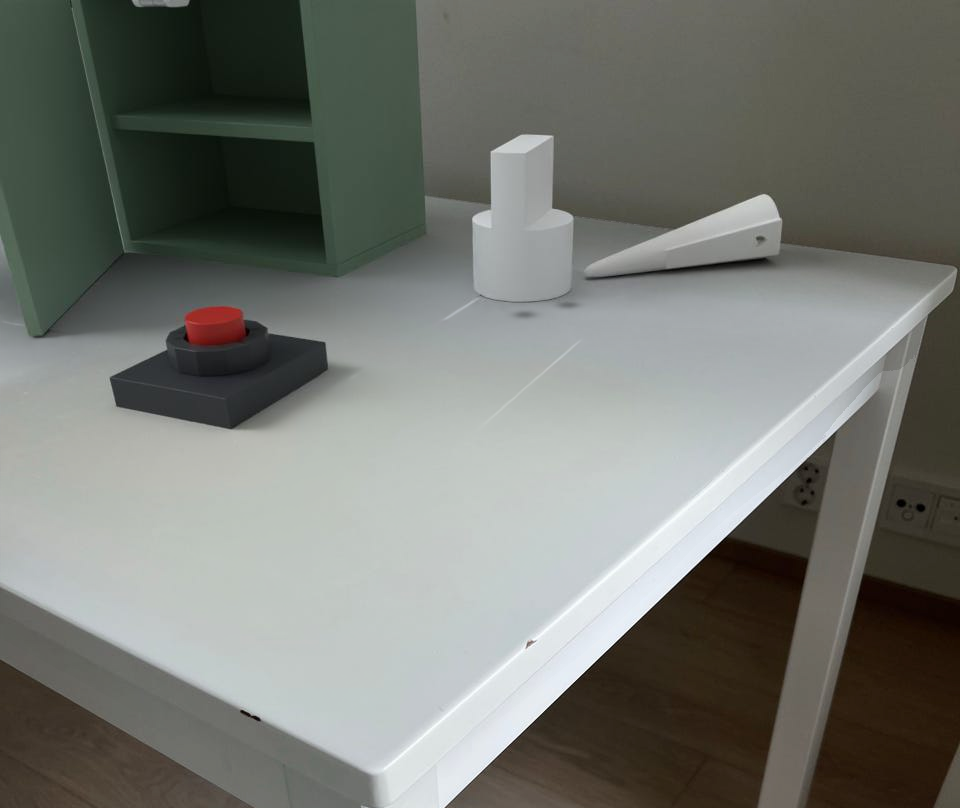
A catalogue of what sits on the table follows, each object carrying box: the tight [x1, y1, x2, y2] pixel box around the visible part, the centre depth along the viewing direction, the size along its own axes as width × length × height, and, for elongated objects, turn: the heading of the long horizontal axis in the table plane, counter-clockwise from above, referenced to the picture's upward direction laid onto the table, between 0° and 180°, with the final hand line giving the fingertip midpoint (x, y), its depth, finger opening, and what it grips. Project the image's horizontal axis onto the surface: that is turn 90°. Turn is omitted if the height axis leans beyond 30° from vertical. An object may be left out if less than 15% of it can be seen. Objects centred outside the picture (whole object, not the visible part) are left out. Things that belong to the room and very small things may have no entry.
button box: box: [109, 319, 329, 430], centre depth 72 cm, size 12×10×4 cm
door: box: [0, 0, 125, 337], centre depth 86 cm, size 7×26×24 cm, turn 2°
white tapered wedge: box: [583, 193, 783, 278], centre depth 96 cm, size 6×6×19 cm
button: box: [184, 305, 246, 345], centre depth 70 cm, size 4×4×2 cm
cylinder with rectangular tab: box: [471, 134, 575, 303], centre depth 89 cm, size 9×9×12 cm
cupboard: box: [70, 0, 427, 278], centre depth 100 cm, size 18×26×24 cm
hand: (162, 6), depth 59 cm, fingers closed
